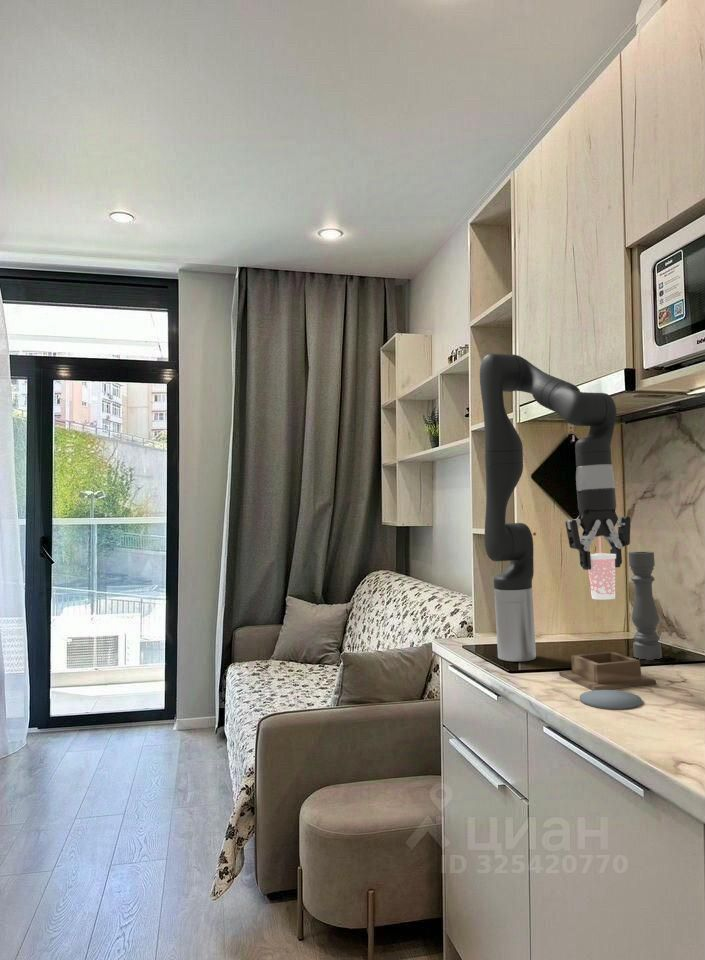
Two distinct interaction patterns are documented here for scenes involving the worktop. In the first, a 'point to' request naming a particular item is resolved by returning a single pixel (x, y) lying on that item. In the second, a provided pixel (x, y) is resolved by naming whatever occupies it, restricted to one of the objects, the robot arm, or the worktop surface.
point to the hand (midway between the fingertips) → (601, 568)
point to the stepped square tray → (606, 671)
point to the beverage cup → (602, 575)
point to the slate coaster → (610, 699)
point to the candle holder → (644, 607)
